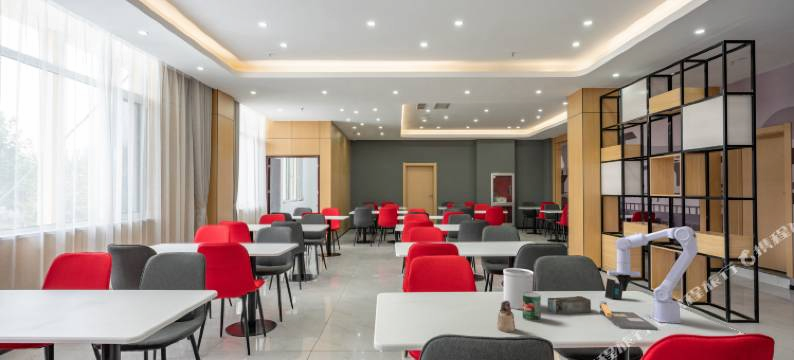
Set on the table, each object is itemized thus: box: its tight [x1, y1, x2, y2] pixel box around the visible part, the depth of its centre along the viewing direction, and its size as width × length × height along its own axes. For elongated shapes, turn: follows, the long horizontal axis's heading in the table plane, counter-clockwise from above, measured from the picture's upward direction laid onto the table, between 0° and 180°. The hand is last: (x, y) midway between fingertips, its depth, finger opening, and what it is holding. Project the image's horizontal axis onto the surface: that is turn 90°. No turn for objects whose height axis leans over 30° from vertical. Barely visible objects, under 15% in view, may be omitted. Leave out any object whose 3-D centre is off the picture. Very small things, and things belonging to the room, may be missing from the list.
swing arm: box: [599, 301, 612, 317], centre depth 186 cm, size 18×3×3 cm, turn 162°
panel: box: [599, 307, 658, 331], centre depth 183 cm, size 15×21×2 cm
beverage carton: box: [547, 295, 592, 315], centre depth 197 cm, size 8×19×7 cm, turn 101°
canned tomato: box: [522, 292, 542, 322], centre depth 184 cm, size 8×8×11 cm
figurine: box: [496, 300, 516, 333], centre depth 169 cm, size 7×7×12 cm
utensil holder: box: [502, 267, 535, 310], centre depth 204 cm, size 15×15×18 cm
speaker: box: [604, 278, 624, 300], centre depth 220 cm, size 8×6×10 cm
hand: (623, 290), depth 196 cm, fingers closed
